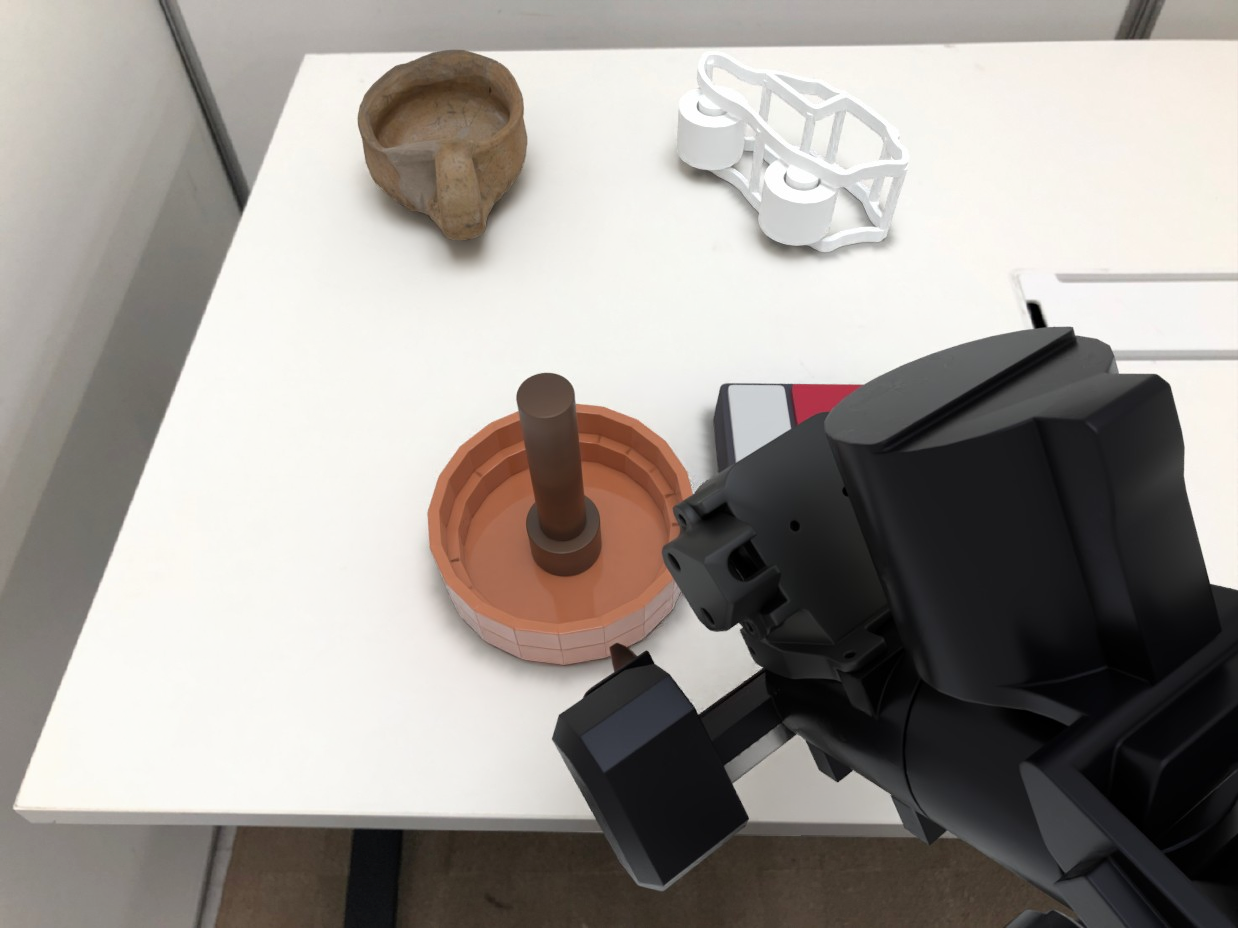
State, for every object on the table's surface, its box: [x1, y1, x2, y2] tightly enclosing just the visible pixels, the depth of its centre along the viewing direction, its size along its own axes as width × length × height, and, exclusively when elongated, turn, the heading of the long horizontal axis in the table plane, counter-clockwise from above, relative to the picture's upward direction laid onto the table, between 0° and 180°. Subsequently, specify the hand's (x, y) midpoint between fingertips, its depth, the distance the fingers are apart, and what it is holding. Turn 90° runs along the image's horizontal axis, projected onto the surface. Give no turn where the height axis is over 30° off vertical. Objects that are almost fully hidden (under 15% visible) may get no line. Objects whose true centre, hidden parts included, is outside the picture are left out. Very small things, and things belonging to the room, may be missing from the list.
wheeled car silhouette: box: [676, 50, 910, 253], centre depth 70 cm, size 20×11×7 cm, turn 33°
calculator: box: [713, 382, 865, 473], centre depth 55 cm, size 11×4×15 cm
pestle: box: [515, 372, 602, 576], centre depth 47 cm, size 4×4×15 cm
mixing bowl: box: [427, 403, 694, 666], centre depth 52 cm, size 15×15×5 cm
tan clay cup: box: [357, 49, 528, 241], centre depth 69 cm, size 18×14×10 cm
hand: (704, 595), depth 37 cm, fingers open, 9 cm apart
